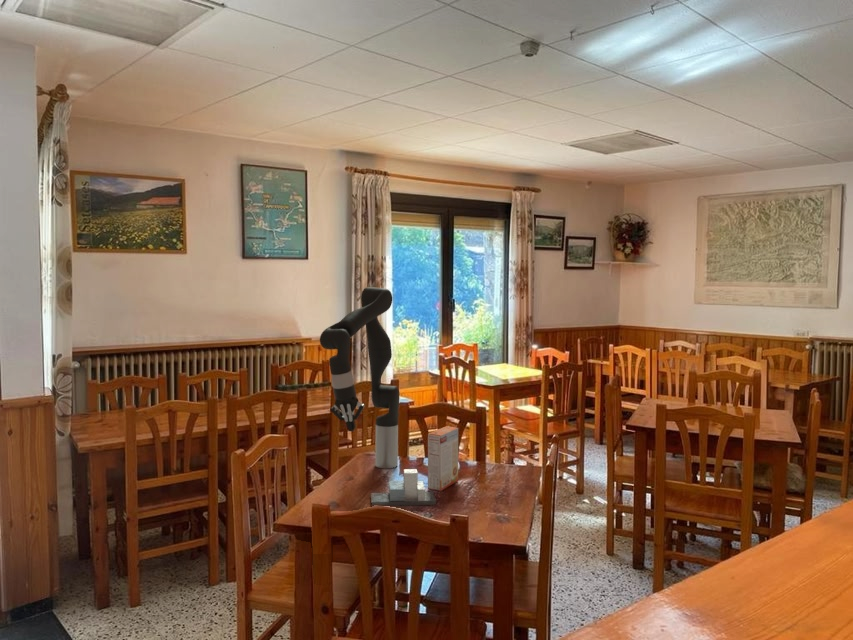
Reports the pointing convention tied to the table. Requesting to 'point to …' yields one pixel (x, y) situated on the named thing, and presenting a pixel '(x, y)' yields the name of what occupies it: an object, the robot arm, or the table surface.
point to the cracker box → (442, 458)
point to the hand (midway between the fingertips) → (351, 430)
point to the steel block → (410, 483)
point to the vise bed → (422, 499)
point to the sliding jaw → (396, 491)
